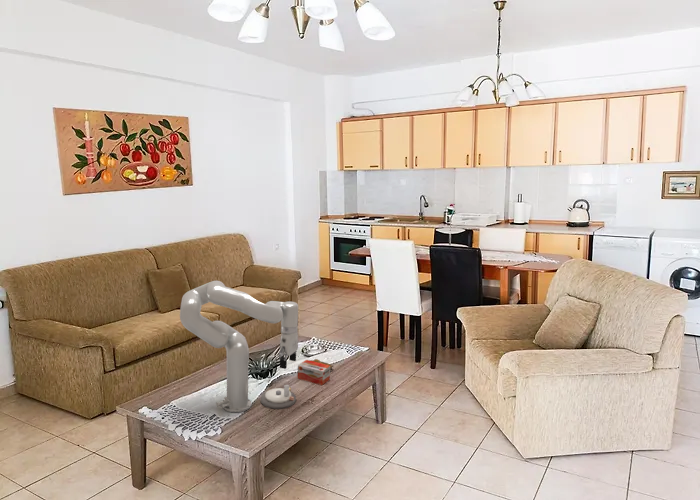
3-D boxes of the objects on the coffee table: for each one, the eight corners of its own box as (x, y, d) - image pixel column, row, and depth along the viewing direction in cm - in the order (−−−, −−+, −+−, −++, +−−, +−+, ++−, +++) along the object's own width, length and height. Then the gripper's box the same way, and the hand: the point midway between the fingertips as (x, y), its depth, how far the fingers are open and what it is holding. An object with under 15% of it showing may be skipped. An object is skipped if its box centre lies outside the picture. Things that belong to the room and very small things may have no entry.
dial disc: (260, 399, 237) (260, 386, 236) (273, 389, 248) (273, 376, 247) (287, 406, 233) (287, 392, 231) (299, 394, 244) (299, 382, 243)
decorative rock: (301, 369, 278) (323, 378, 270) (301, 362, 277) (323, 371, 269) (314, 361, 287) (336, 370, 279) (314, 355, 286) (336, 363, 278)
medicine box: (297, 379, 265) (297, 364, 263) (305, 373, 272) (305, 359, 271) (322, 386, 258) (322, 371, 257) (330, 380, 265) (330, 365, 264)
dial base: (272, 412, 230) (272, 404, 229) (254, 398, 242) (254, 390, 241) (302, 402, 240) (302, 394, 239) (283, 389, 252) (283, 382, 252)
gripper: (288, 336, 225) (286, 372, 228) (304, 324, 241) (303, 359, 244) (272, 333, 227) (271, 369, 230) (290, 322, 243) (288, 356, 246)
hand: (287, 364), depth 237 cm, fingers open, 9 cm apart
